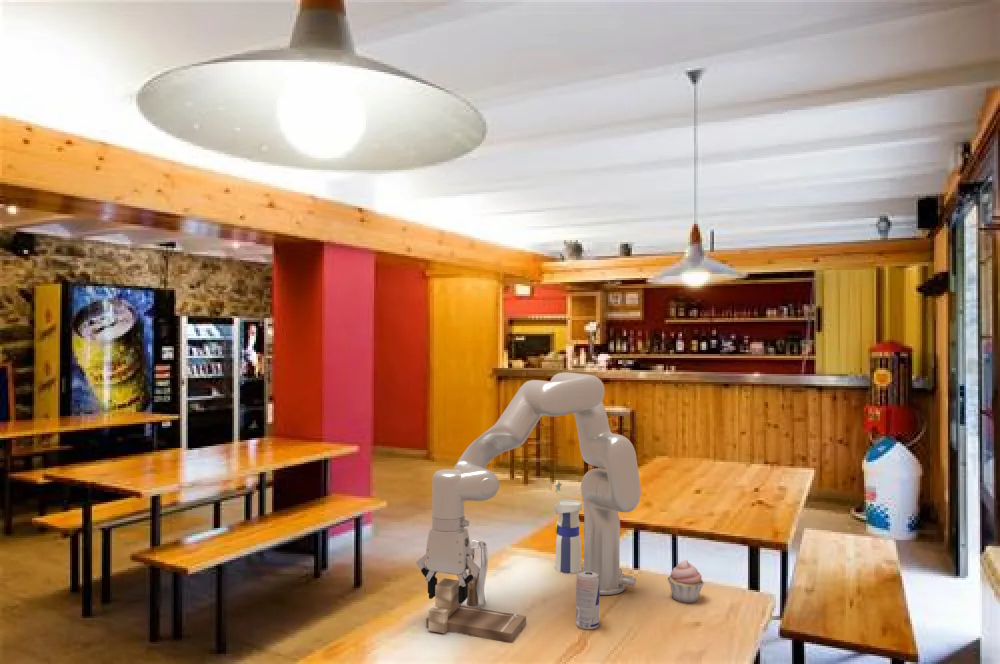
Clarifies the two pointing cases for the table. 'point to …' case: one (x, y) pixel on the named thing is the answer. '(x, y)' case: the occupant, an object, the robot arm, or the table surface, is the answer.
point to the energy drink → (587, 599)
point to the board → (485, 623)
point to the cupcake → (685, 582)
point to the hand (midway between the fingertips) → (447, 598)
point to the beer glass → (478, 582)
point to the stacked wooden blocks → (443, 604)
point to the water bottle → (568, 536)
